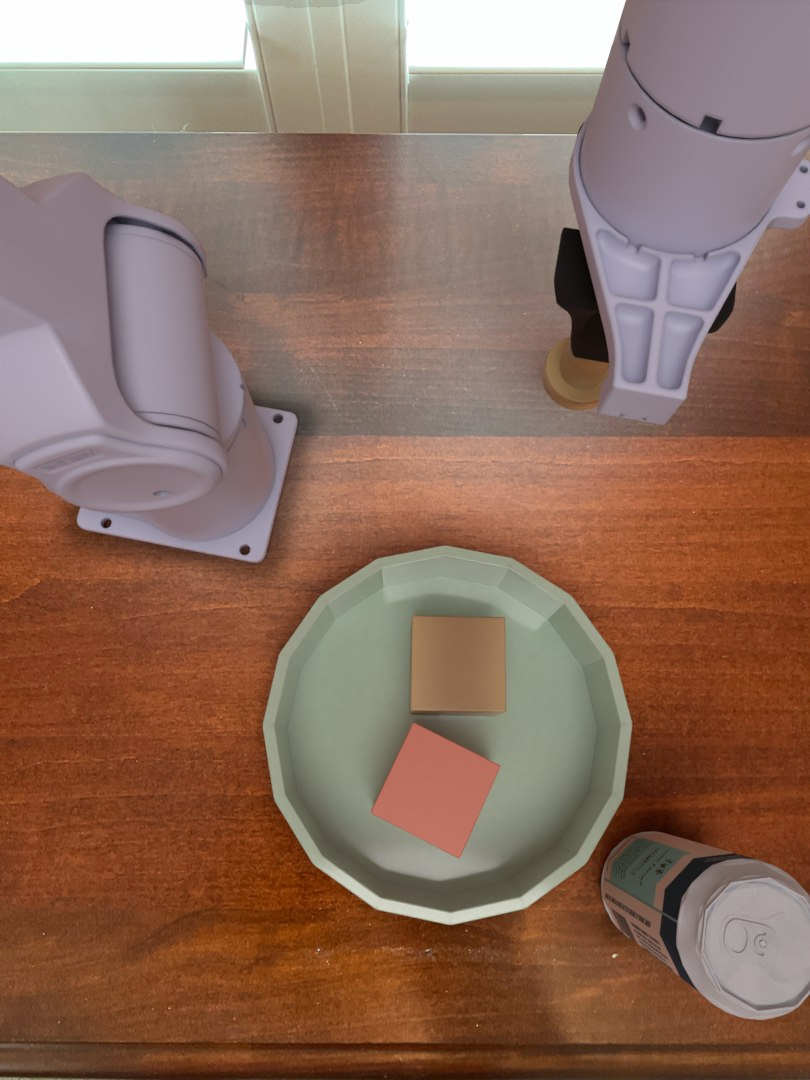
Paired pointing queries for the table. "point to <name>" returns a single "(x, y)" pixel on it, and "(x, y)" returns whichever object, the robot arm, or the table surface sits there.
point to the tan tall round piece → (573, 378)
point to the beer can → (714, 920)
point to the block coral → (435, 789)
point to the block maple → (457, 666)
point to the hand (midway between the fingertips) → (602, 324)
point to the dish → (447, 736)
